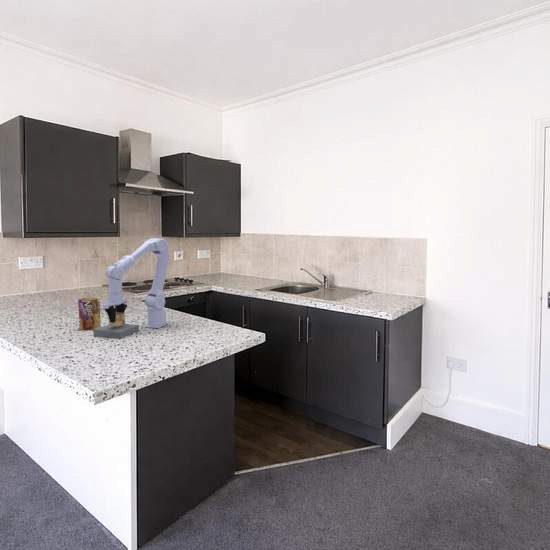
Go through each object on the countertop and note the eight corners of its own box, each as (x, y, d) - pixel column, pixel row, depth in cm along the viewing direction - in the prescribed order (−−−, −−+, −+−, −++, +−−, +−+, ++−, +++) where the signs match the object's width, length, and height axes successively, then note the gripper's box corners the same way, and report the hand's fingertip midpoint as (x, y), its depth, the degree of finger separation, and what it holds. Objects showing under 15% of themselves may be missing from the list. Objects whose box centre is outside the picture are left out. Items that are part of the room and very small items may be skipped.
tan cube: (115, 322, 184) (115, 312, 184) (125, 323, 183) (124, 313, 182) (108, 325, 180) (108, 314, 179) (118, 326, 178) (117, 315, 178)
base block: (113, 328, 190) (113, 322, 190) (139, 331, 187) (138, 324, 186) (93, 336, 177) (93, 329, 177) (120, 338, 173) (120, 332, 173)
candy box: (101, 327, 193) (100, 296, 191) (98, 329, 189) (97, 298, 187) (81, 327, 192) (80, 297, 190) (79, 330, 187) (77, 298, 186)
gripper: (118, 289, 188) (119, 317, 189) (97, 294, 174) (98, 324, 175) (131, 290, 186) (131, 318, 187) (110, 294, 172) (111, 325, 173)
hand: (116, 321), depth 181 cm, fingers closed on tan cube, 5 cm apart
